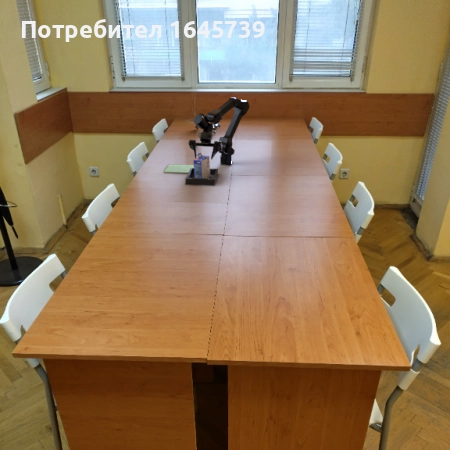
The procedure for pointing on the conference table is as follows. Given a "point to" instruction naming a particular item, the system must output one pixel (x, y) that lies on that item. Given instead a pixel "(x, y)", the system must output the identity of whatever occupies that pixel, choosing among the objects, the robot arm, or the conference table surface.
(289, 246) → the conference table surface
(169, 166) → the mat
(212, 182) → the black square frame
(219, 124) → the tablet mount
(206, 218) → the conference table surface
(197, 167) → the ink cartridge box
